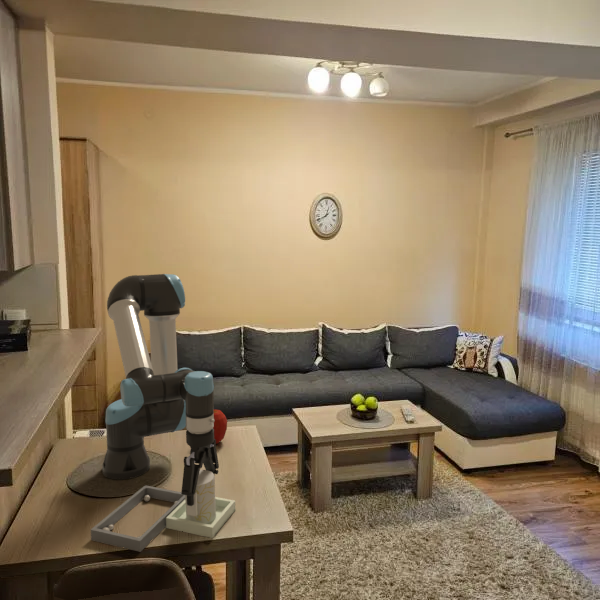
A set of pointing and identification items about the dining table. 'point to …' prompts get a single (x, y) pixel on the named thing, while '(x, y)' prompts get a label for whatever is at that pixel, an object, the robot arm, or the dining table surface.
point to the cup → (204, 498)
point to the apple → (219, 425)
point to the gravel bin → (103, 528)
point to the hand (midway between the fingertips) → (201, 504)
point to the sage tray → (180, 523)
